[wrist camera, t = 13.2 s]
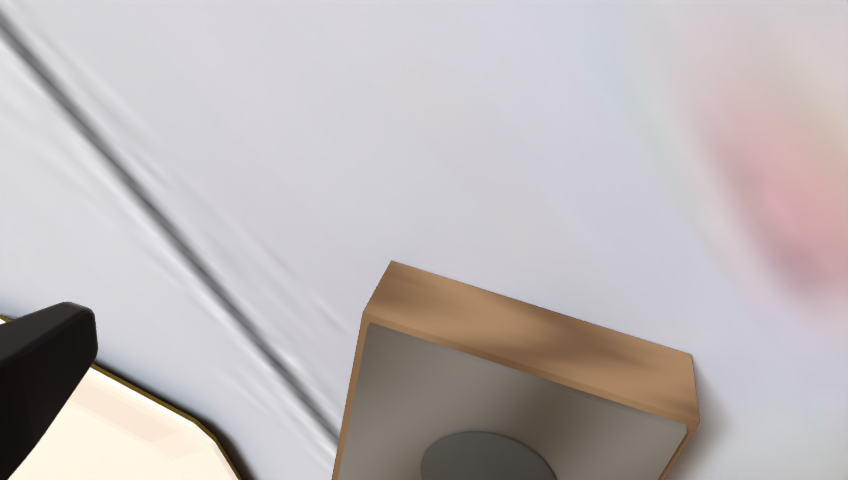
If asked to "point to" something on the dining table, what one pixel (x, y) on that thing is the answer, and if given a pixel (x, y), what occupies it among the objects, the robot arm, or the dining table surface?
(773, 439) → the dining table surface
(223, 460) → the plate
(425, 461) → the sundae
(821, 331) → the dining table surface
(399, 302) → the block
